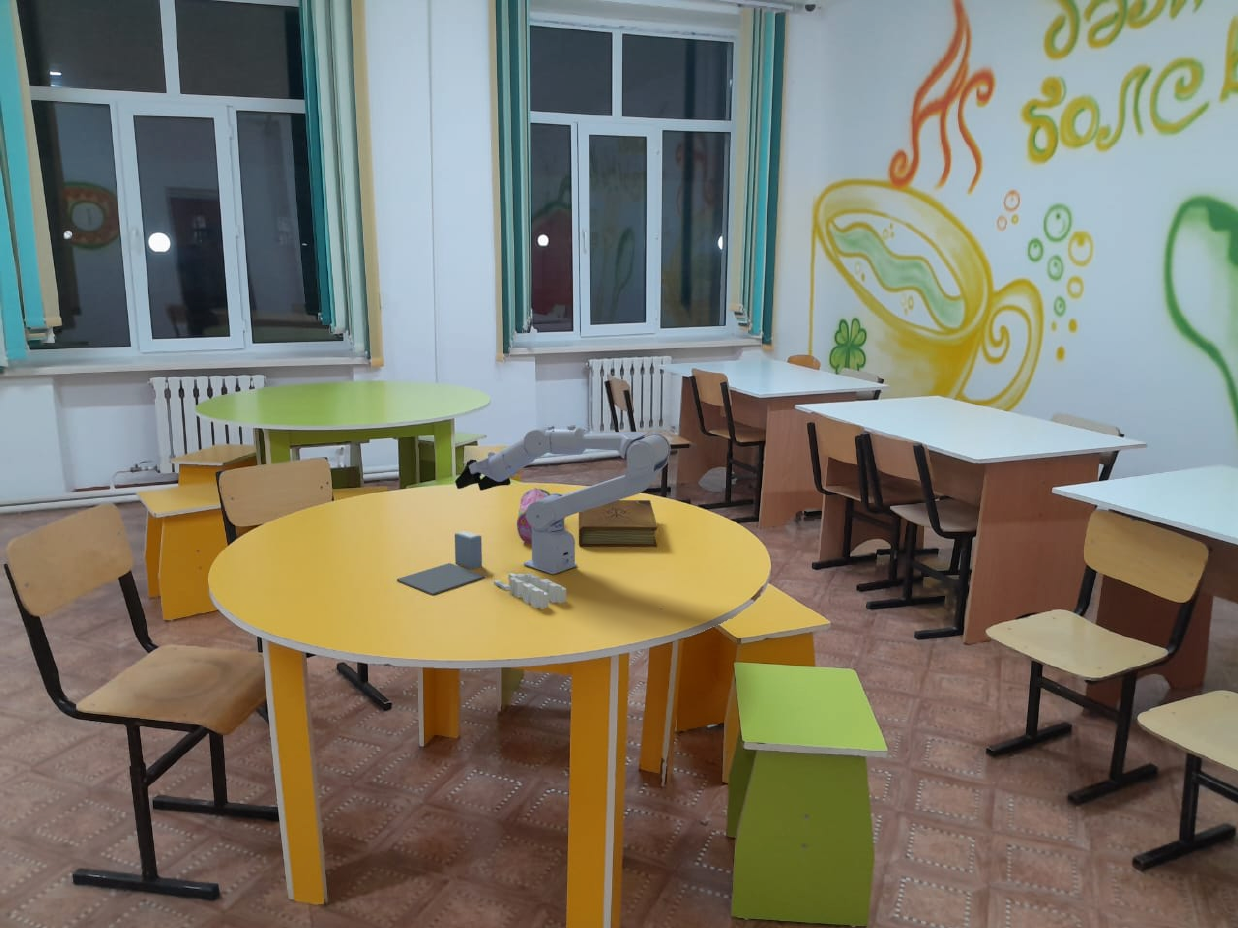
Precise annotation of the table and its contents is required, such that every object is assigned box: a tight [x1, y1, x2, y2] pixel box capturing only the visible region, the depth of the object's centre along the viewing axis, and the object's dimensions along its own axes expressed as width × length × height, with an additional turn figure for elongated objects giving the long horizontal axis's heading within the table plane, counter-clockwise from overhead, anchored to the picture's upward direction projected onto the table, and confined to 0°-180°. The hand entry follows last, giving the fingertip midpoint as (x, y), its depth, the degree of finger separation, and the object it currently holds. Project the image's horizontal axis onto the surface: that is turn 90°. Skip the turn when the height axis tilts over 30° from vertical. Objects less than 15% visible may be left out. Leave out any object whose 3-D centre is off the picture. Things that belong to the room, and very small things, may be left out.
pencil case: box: [516, 487, 551, 544], centre depth 226 cm, size 21×9×9 cm, turn 2°
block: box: [454, 530, 483, 570], centre depth 201 cm, size 6×3×7 cm, turn 49°
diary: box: [578, 499, 658, 548], centre depth 226 cm, size 23×19×6 cm
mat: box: [396, 562, 486, 596], centre depth 192 cm, size 12×14×1 cm
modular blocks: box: [493, 572, 567, 610], centre depth 186 cm, size 20×7×4 cm, turn 43°
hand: (468, 485), depth 207 cm, fingers open, 7 cm apart
